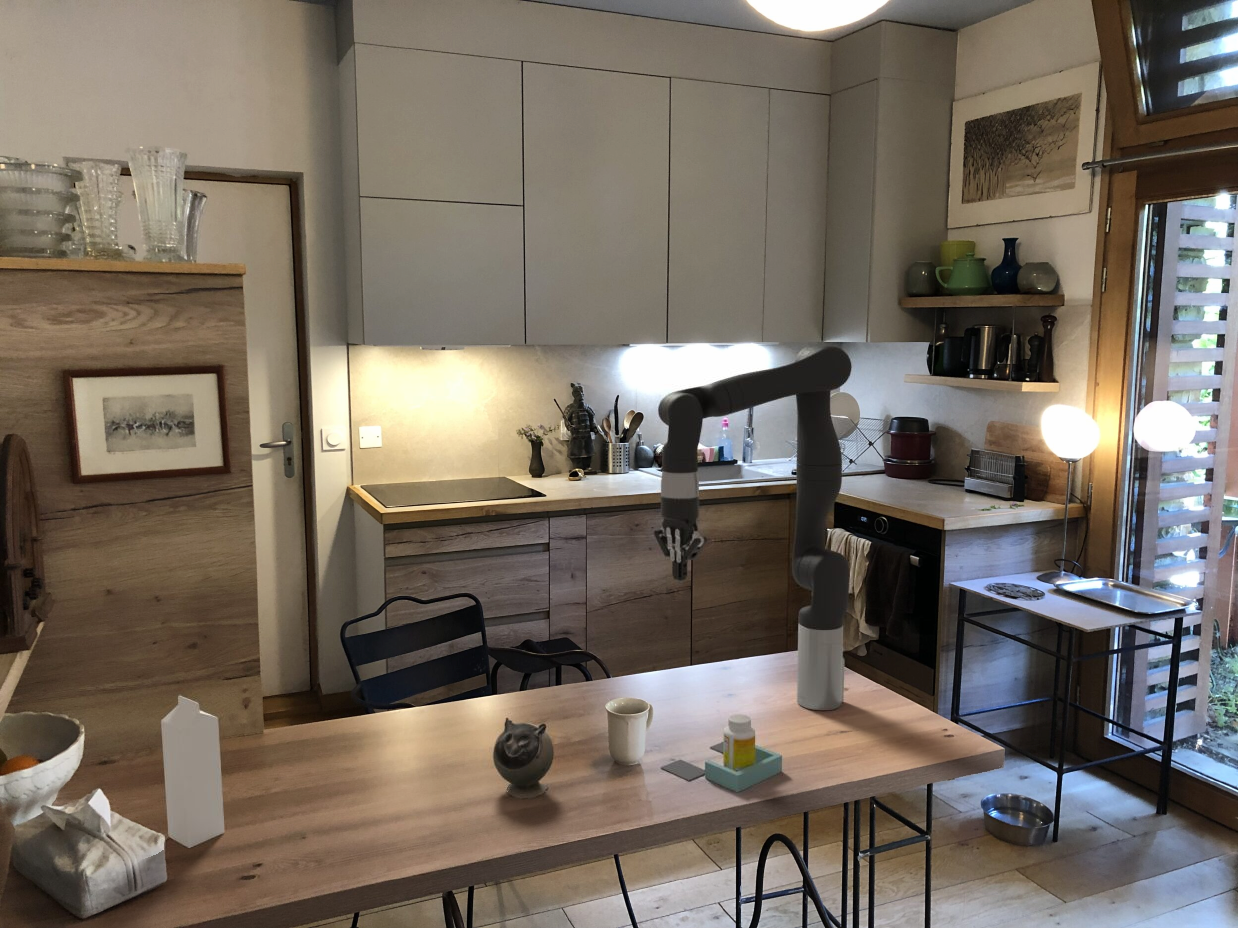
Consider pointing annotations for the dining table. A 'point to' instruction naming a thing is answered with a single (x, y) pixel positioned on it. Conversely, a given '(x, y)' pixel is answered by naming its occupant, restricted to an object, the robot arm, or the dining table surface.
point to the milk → (192, 774)
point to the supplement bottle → (739, 743)
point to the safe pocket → (745, 771)
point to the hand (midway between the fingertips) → (679, 579)
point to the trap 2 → (718, 747)
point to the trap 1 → (684, 770)
